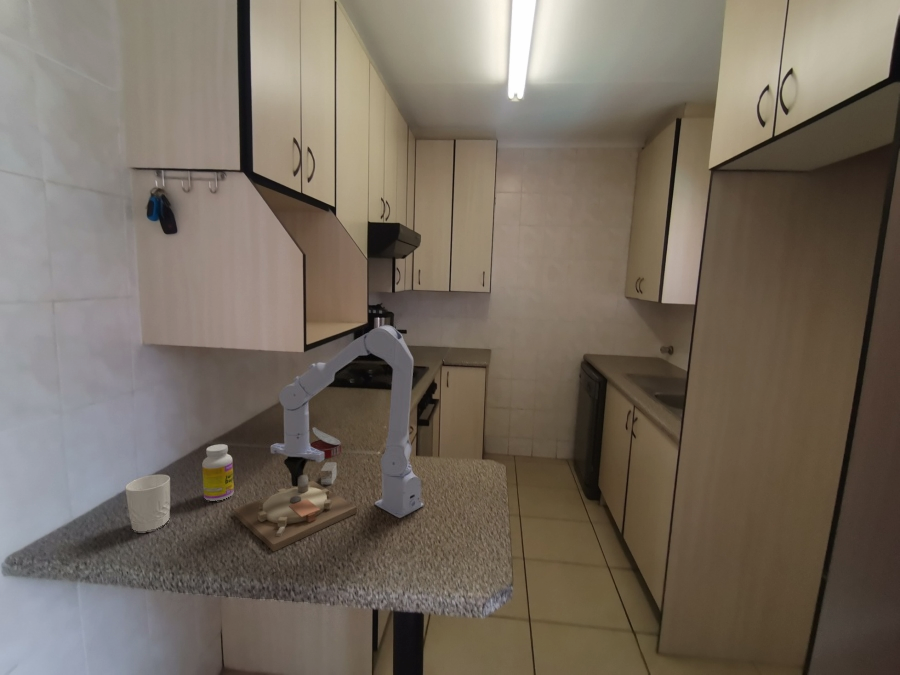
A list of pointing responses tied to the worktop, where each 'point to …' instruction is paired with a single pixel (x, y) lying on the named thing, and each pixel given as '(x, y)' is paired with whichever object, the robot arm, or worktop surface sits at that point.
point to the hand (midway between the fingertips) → (297, 484)
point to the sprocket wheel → (294, 504)
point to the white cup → (149, 502)
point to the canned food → (326, 444)
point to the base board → (293, 531)
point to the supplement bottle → (217, 473)
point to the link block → (328, 473)
